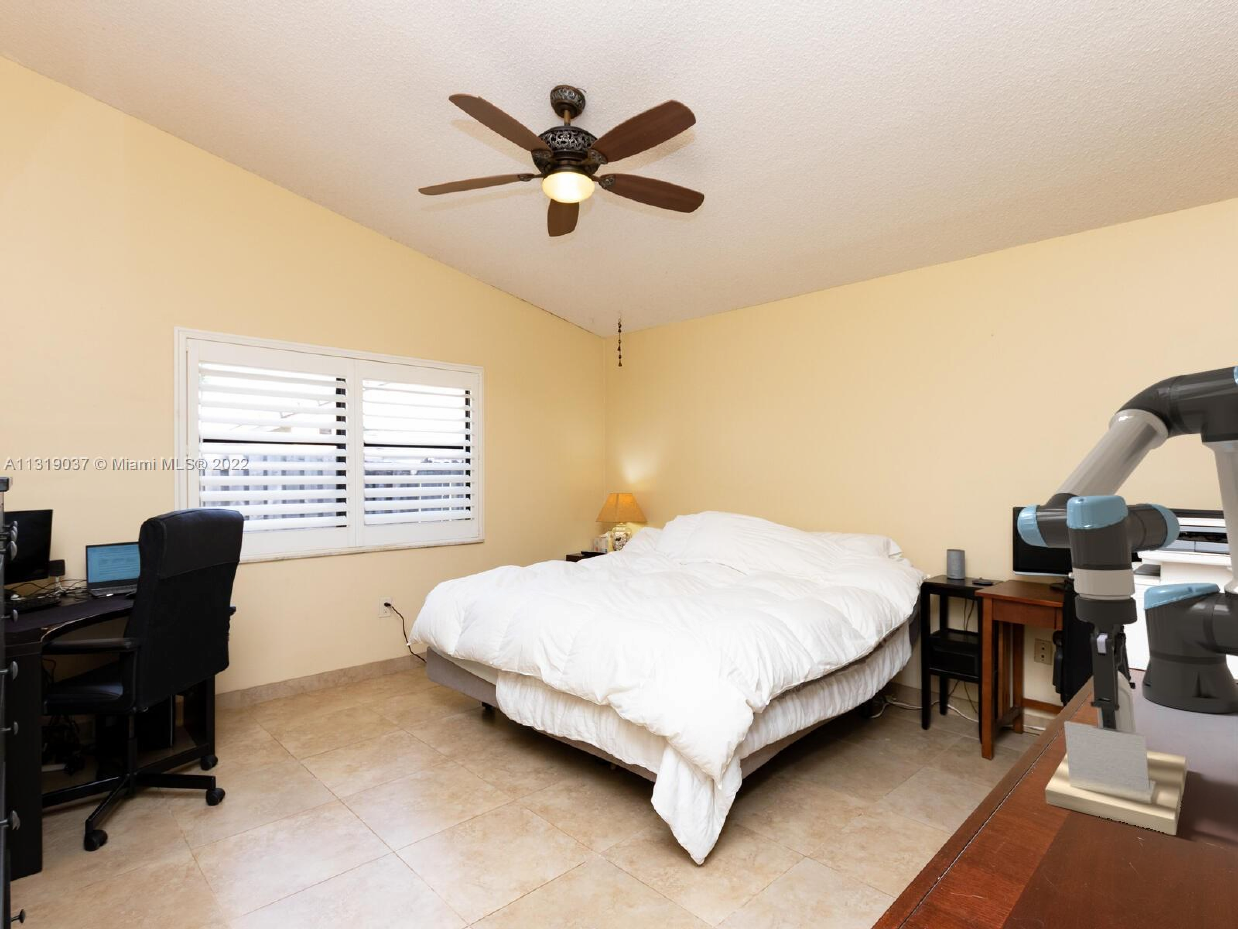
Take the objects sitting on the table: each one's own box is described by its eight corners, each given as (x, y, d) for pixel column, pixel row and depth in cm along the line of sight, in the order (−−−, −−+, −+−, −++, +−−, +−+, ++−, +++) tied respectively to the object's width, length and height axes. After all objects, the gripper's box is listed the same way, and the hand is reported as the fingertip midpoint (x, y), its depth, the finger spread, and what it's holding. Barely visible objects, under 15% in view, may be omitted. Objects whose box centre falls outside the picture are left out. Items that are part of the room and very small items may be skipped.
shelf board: (1077, 748, 108) (1076, 737, 108) (1187, 770, 98) (1185, 757, 98) (1046, 803, 91) (1045, 789, 91) (1175, 835, 81) (1173, 819, 81)
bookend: (1079, 769, 96) (1073, 709, 97) (1156, 785, 90) (1149, 721, 90) (1070, 786, 91) (1064, 723, 92) (1150, 805, 85) (1144, 736, 85)
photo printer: (1098, 739, 102) (1091, 661, 103) (1132, 743, 100) (1124, 664, 101) (1104, 763, 94) (1096, 678, 94) (1141, 768, 91) (1133, 682, 92)
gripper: (1087, 583, 109) (1099, 715, 108) (1060, 605, 93) (1074, 760, 91) (1143, 586, 104) (1157, 724, 102) (1125, 609, 87) (1141, 773, 86)
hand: (1118, 741), depth 97 cm, fingers closed on photo printer, 10 cm apart
